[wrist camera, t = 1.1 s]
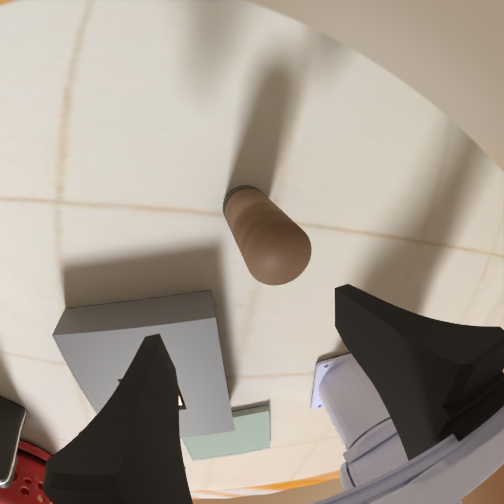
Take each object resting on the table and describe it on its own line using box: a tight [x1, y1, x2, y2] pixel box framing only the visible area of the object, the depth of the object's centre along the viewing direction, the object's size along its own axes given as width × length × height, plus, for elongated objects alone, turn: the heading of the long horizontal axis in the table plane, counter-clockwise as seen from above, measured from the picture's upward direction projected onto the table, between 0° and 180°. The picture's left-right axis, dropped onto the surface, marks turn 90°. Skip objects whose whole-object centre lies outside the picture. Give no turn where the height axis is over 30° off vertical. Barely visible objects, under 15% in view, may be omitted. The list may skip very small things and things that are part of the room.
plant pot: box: [0, 440, 57, 504], centre depth 23 cm, size 13×13×12 cm
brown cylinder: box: [223, 186, 311, 285], centre depth 17 cm, size 3×3×8 cm
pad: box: [182, 405, 270, 460], centre depth 30 cm, size 10×9×1 cm
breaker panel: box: [52, 290, 235, 438], centre depth 23 cm, size 12×14×4 cm
